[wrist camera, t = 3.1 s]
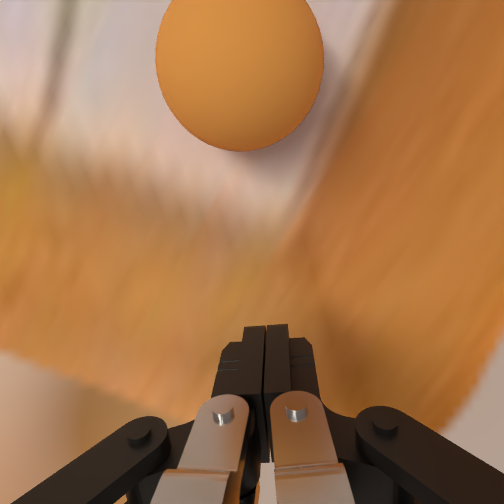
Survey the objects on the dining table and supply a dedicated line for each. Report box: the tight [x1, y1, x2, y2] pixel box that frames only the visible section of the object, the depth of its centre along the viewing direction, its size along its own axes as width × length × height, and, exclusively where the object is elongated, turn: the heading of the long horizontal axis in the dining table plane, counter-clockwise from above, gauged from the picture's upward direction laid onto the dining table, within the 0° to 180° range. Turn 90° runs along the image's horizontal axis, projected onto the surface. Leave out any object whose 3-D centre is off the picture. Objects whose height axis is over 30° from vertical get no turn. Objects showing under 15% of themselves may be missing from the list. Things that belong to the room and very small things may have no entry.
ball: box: [155, 0, 324, 151], centre depth 13 cm, size 6×6×6 cm
